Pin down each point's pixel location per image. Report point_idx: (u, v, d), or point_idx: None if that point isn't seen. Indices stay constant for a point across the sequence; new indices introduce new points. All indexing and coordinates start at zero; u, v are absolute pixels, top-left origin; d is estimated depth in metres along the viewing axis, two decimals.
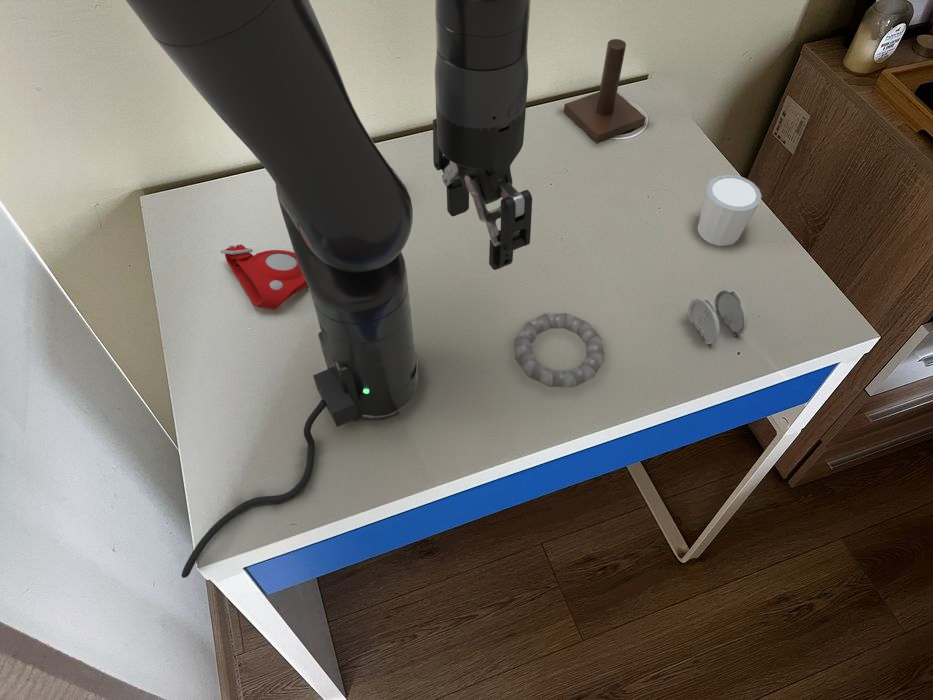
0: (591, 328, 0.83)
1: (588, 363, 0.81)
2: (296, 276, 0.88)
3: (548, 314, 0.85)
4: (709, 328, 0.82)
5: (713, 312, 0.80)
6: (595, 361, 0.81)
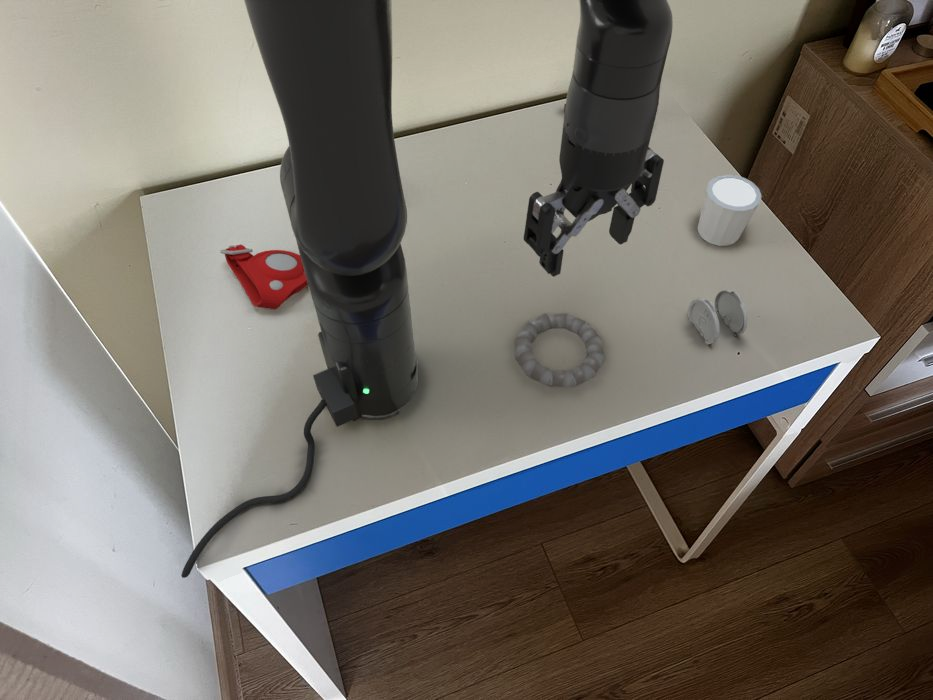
0: (591, 328, 0.83)
1: (588, 363, 0.81)
2: (296, 276, 0.88)
3: (548, 314, 0.85)
4: (709, 328, 0.82)
5: (713, 312, 0.80)
6: (595, 361, 0.81)
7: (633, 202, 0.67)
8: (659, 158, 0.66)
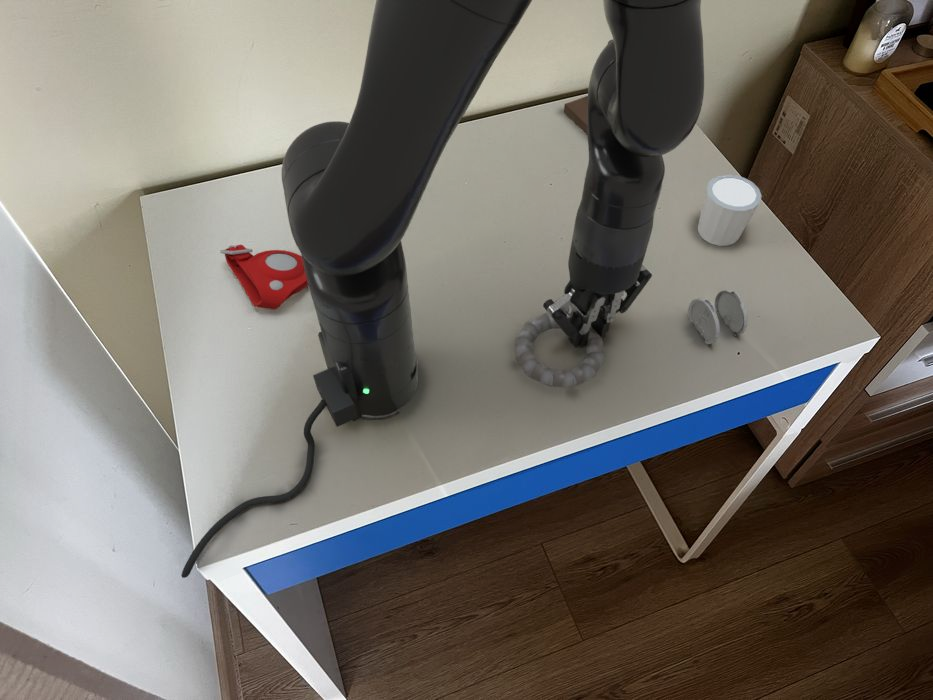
0: (591, 328, 0.84)
1: (588, 363, 0.81)
2: (296, 276, 0.88)
3: (548, 314, 0.85)
4: (709, 328, 0.82)
5: (713, 312, 0.80)
6: (595, 361, 0.81)
7: (618, 306, 0.79)
8: (650, 273, 0.78)
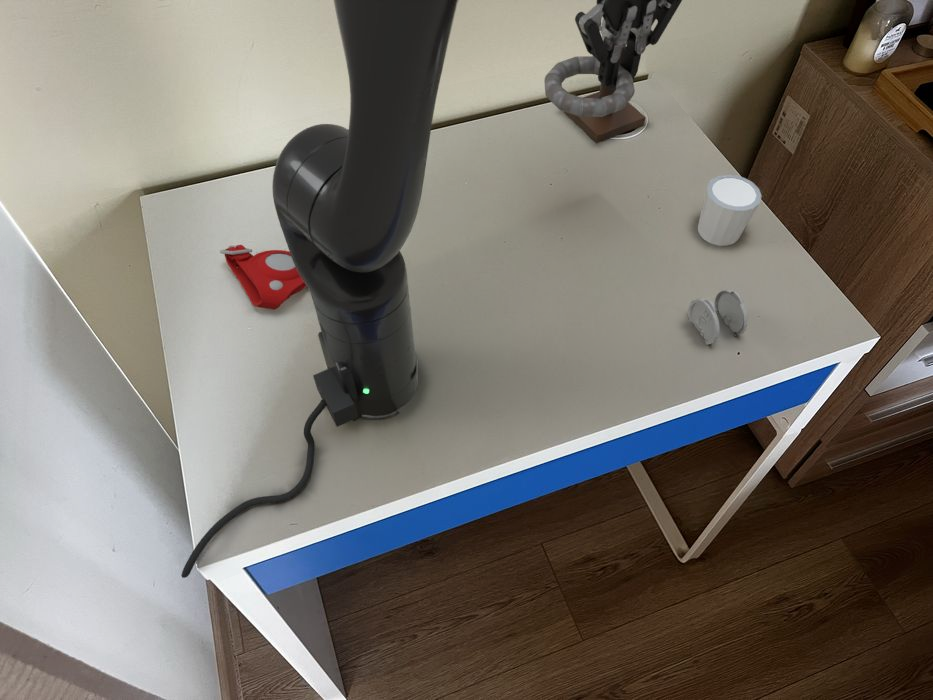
0: (621, 66, 0.84)
1: (618, 92, 0.81)
2: (296, 276, 0.88)
3: (578, 56, 0.85)
4: (709, 328, 0.82)
5: (713, 312, 0.80)
6: (626, 90, 0.81)
7: (650, 28, 0.79)
8: None
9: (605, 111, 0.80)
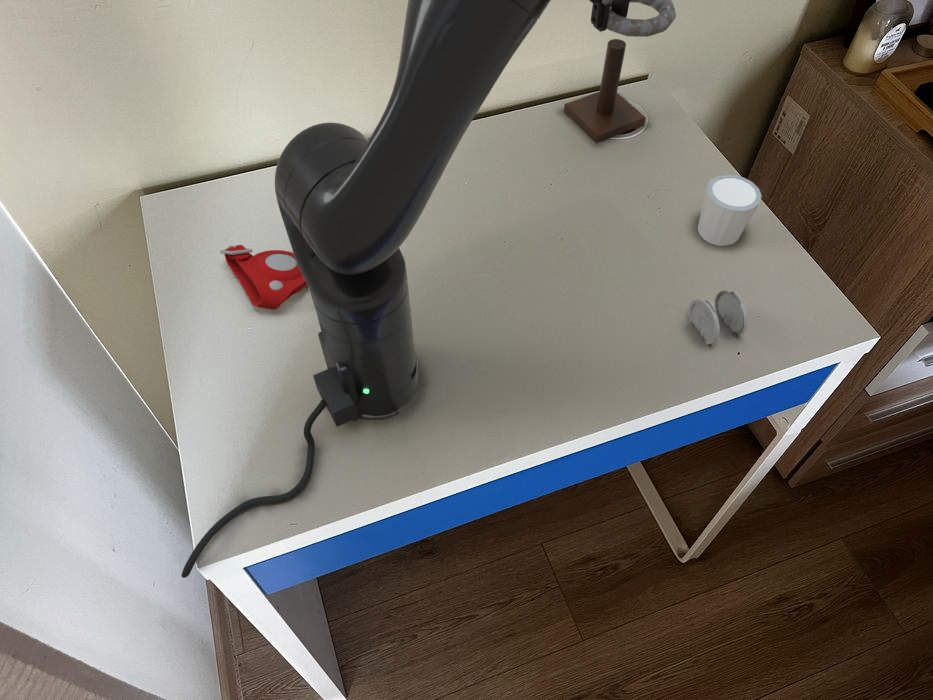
0: None
1: None
2: (296, 276, 0.88)
3: (648, 22, 0.89)
4: (709, 328, 0.82)
5: (713, 312, 0.80)
6: None
7: None
8: None
9: None
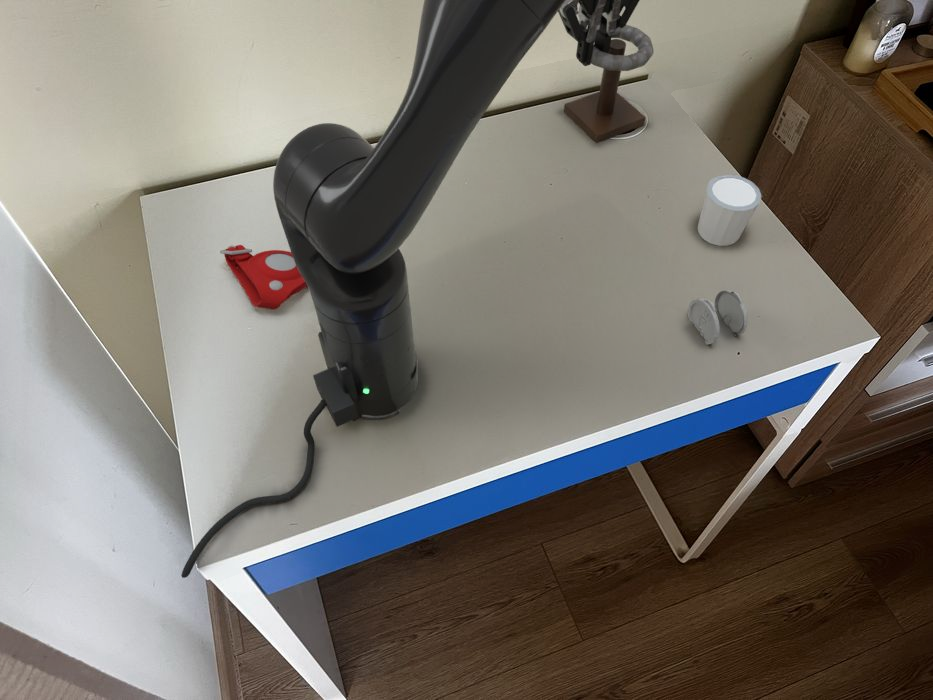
0: None
1: None
2: (296, 276, 0.88)
3: (628, 58, 0.97)
4: (709, 328, 0.82)
5: (713, 312, 0.80)
6: None
7: (579, 9, 0.95)
8: None
9: None
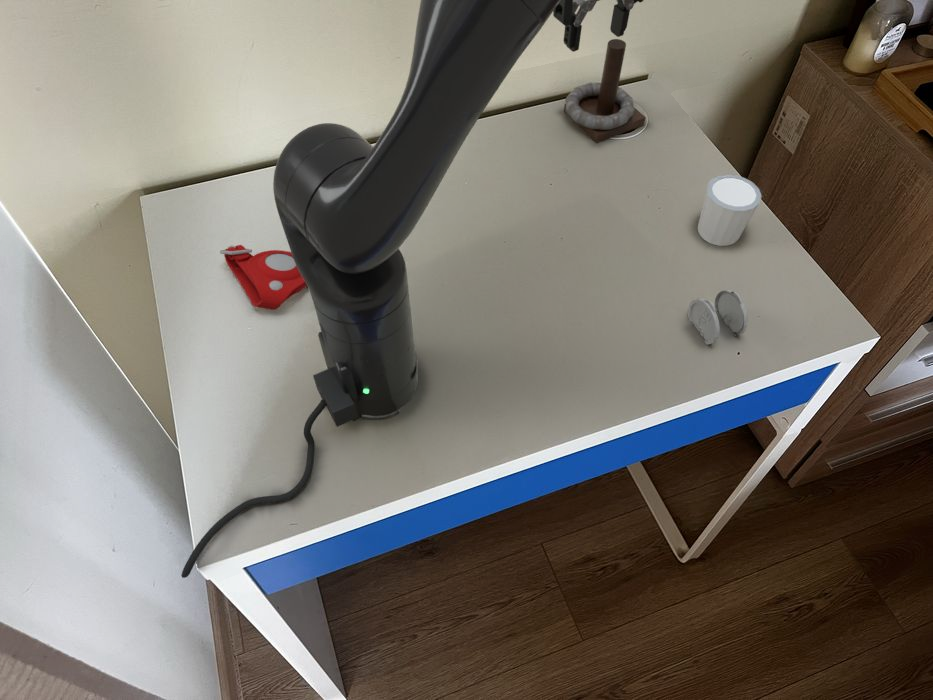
0: (575, 110, 1.06)
1: (579, 90, 1.09)
2: (296, 276, 0.88)
3: (609, 118, 1.05)
4: (709, 328, 0.82)
5: (713, 312, 0.80)
6: (573, 90, 1.09)
7: None
8: None
9: None
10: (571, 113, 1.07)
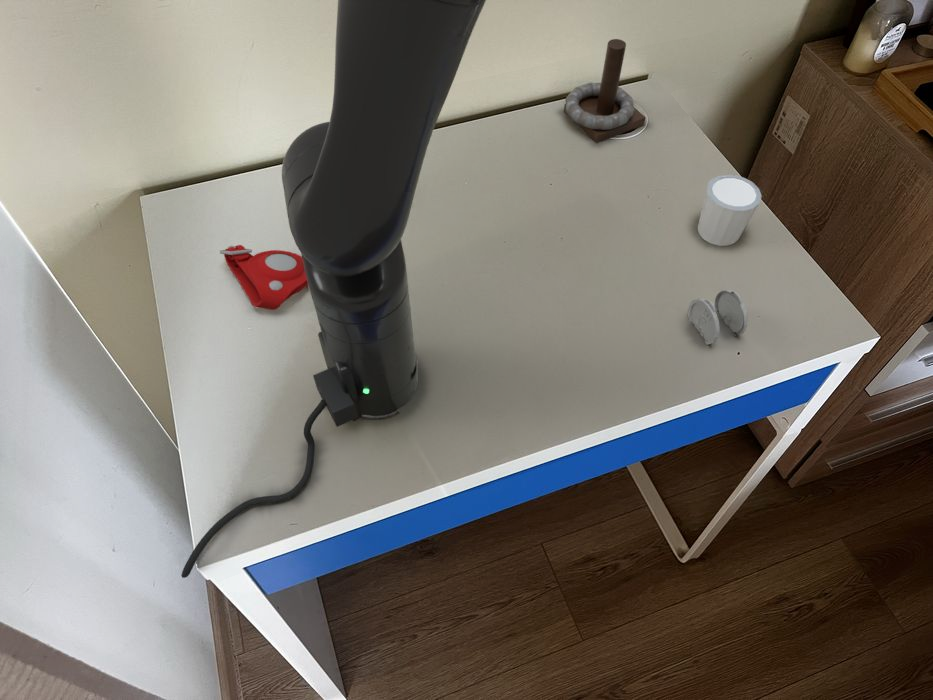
0: (575, 110, 1.06)
1: (579, 90, 1.09)
2: (296, 276, 0.88)
3: (609, 118, 1.05)
4: (709, 328, 0.82)
5: (713, 312, 0.80)
6: (573, 90, 1.09)
7: None
8: None
9: None
10: (571, 113, 1.07)
